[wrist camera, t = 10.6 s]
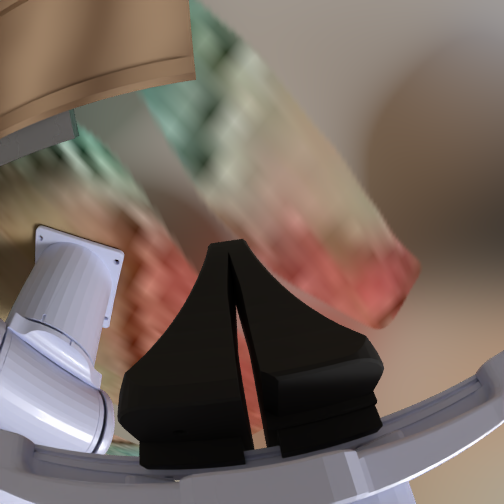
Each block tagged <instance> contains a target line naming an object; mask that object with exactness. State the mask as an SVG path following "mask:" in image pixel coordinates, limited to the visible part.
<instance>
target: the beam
mask: <svg viewBox="0 0 504 504" xmlns="http://www.w3.org/2000/svg"><path fill="white" fill-rule="evenodd" d="M190 80H196V75H195V65H194V55H193V45H192V34H191V23H190V11H189V0H1V1H0V139H1V138H3V137H5V136H7V135H9V134H11V133H13V132H15V131H18V130H20V129H22V128H24V127H27V126H29V125H31V124H34V123H36V122H39V121H41V120H44V119H46V118H49V117H51V116H54V115H57V114H59V113H62V112H65V111H68V110H71V109H74V108H76V107H79V106H83V105H86V104H89V103H92V102H96V101H99V100H102V99H106V98H109V97H113V96H117V95H121V94H124V93H129V92H133V91H137V90H142V89H146V88H151V87H156V86H161V85H166V84H172V83H177V82H183V81H190Z"/></svg>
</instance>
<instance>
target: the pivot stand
mask: <svg viewBox="0 0 504 504" xmlns="http://www.w3.org/2000/svg"><path fill="white" fill-rule="evenodd" d="M77 136H79V133H78V129H77V124H76V119H75V114H74V109H71V110H68V111H65V112H62V113H59V114H57V115H54V116H51V117H49V118H46V119H44V120H41V121H39V122H36V123H34V124H31V125H29V126H27V127H24V128H22V129H20V130H18V131H15V132H13V133H11V134H9V135H7V136H5V137H3V138H1V139H0V166H2V165H4V164H6V163H9V162H11V161H13V160H16V159H18V158H21V157H23V156H26V155H28V154H31V153H33V152H36V151H39V150H41V149H44V148H47V147H50V146H52V145H55V144H58V143H61V142H64V141H67V140H70V139H74V138H76V137H77Z"/></svg>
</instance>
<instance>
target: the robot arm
mask: <svg viewBox="0 0 504 504" xmlns="http://www.w3.org/2000/svg"><path fill="white" fill-rule="evenodd" d="M40 235H41V236H42V237H43V238H41V237H40ZM115 259H116V260H119V262H116V261H115ZM123 259H124V253H123V252H122V251H121V250H118V249H115V248H112V247H108V246H105V245H102V244H99V243H95V242H92V241H89V240H86V239H83V238H79V237H76V236H73V235H70V234H67V233H64V232H61V231H58V230H55V229H52V228H48V227H45V226H42V225H40V226H39V227H38V228H37V229H36V241H35V266H34V268H33V269H32V271H31V273H30V275H29V276H28V278H27V280H26V282H25V284H24V285H23V287H22V289H21V291H20V293H19V295H18V297H17V299H16V301H15V303H14V305H13V307H12V309H11V311H10V313H9V315H8V317H7V319H6V321H5V322H4V321H3V320H2V319H1V318H0V504H416V502H415V499H414V496H413V494H412V490H411V487H410V484H409V482H408V481H410V480H412V479H414V478H416V477H418V476H420V475H422V474H424V473H426V472H428V471H430V470H432V469H433V468H435V467H437V466H439V465H441V464H442V463H444V462H446V461H448V460H449V459H451V458H453V457H455V456H456V455H458V454H460V453H461V452H463V451H464V450H466V449H467V448H469V447H470V446H472V445H474V444H475V443H476V442H478V441H479V440H481V439H482V438H484V437H485V436H487V435H488V434H489V433H491V432H492V431H493V430H495V429H496V428H498V427H499V426H500V425H501V424H503V423H504V350H503V351H502V352H500V353H499V354H497V355H495V356H494V357H492V358H490V359H489V360H487V361H486V362H485V363H484V364H483V365H482V366H481V367H480V368H479V369H478V371H477V372H476V374H475V375H473V376H472V377H470V378H468V379H466V380H464V381H462V382H460V383H459V384H457V385H455V386H453V387H451V388H449V389H447V390H445V391H443V392H441V393H439V394H437V395H434V396H432V397H430V398H428V399H426V400H424V401H421V402H419V403H417V404H414V405H412V406H410V407H407V408H405V409H402V410H400V411H397V412H395V413H392V414H390V415H387V416H384V417H382V418H380V416H379V414H378V412H377V409H376V407H375V404H376V403H377V399H376V397H375V394H374V392H373V390H374V389H375V387H376V385H377V383H378V381H379V380H380V378H381V376H382V373H383V370H384V366H383V363H382V361H381V359H380V357H379V355H378V353H377V351H376V350H375V348H374V347H373V345H372V344H371V342H370V341H369V340H368V338H367V337H366V336H365V335H363V334H360V333H358V332H356V331H353V330H351V329H349V328H346V327H344V326H342V325H339V324H338V323H336V322H334V321H332V320H330V319H328V318H326V317H325V316H323V315H321V314H320V313H318V312H317V311H315V310H314V309H312V308H310V307H309V306H307V305H306V304H305V303H303V302H302V301H300V300H299V299H298V298H297V297H295V296H294V295H293V294H291V293H290V292H289V291H288V290H287V289H286V288H285V287H284V286H282V285H281V284H280V283H279V282H278V281H277V280H276V279H275V278H274V277H273V276H272V275H271V274H270V273H269V272H268V270H267V269H266V268H265V267H264V266H263V265H262V264H261V262H260V261H259V260H258V259H257V258H256V256H255V255H254V254H253V252H252V251H251V249H250V248H249V246H248V245H247V243H246V241H245V240H243V239H239V240H232V241H225V242H218V243H211V244H210V245H209V246H208V251H207V255H206V258H205V261H204V264H203V266H202V269H201V271H200V274H199V276H198V278H197V281H196V283H195V285H194V287H193V289H192V291H191V293H190V295H189V297H188V298H187V300H186V302H185V304H184V305H183V307H182V308H181V310H180V312H179V313H178V315H177V316H176V318H175V319H174V320H173V322H172V323H171V325H170V326H169V327H168V329H167V330H166V331H165V333H164V334H163V335H162V336H161V337H160V339H159V340H158V341H157V342H156V343H155V344H154V345H153V347H152V348H151V349H150V350H149V351H148V352H147V353H146V354H145V355H144V356H143V357H142V358H141V359H140V360H139V361H138V362H137V363H136V364H135V365H134V366H132V367H131V368H130V369H129V370H128V371H127V372H126V373H125V374H124V378H123V382H122V385H121V390H120V394H119V404H118V422H119V423H120V424H121V425H122V427H123V428H124V429H125V430H127V431H128V432H129V433H130V434H131V435H132V436H134V437H135V438H136V439H137V440H139V441H140V447H139V457H135V456H116V455H104V454H105V453H106V452H107V450H108V448H109V446H110V444H111V441H112V438H113V433H114V426H115V419H114V409H113V404H112V401H111V399H110V397H109V396H108V394H107V393H106V392H104V391H103V390H101V389H100V385H101V378H102V375H101V374H100V373H99V372H97V371H96V370H95V369H94V364H95V359H96V354H97V349H98V344H99V339H100V335H101V330H102V327H103V328H108V327H109V324H110V319H111V314H112V308H113V303H114V298H115V294H116V289H117V284H118V280H119V276H120V271H121V267H122V263H123ZM236 307H237V310H238V314H239V318H240V321H241V324H242V329H243V332H244V336H245V339H246V343H247V346H248V350H249V354H250V359H251V364H252V369H253V375H254V380H255V386H256V391H257V397H258V402H259V408H260V413H261V419H262V424H263V429H264V435H265V440H266V446H267V448H262V449H256V450H255V449H254V444H253V439H252V433H251V428H250V422H249V417H248V411H247V405H246V399H245V394H244V388H243V382H242V375H241V369H240V363H239V354H238V339H237V320H236ZM174 480H180V481H179V482H175V481H174Z"/></svg>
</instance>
